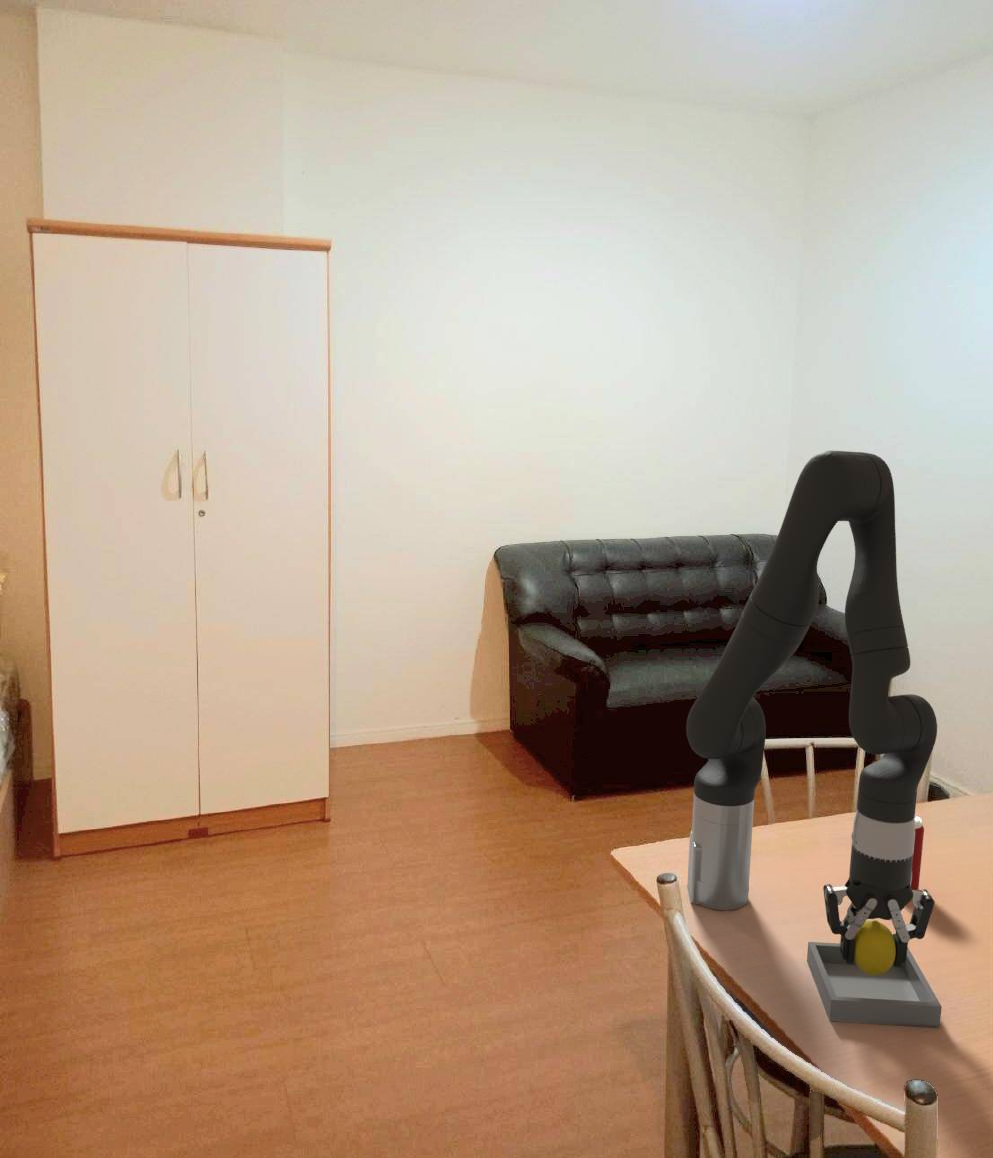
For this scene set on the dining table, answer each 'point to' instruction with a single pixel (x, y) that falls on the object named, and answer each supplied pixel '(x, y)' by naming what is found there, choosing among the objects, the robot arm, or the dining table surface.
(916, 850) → the soda can
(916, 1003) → the box
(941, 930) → the dining table surface
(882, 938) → the lemon
